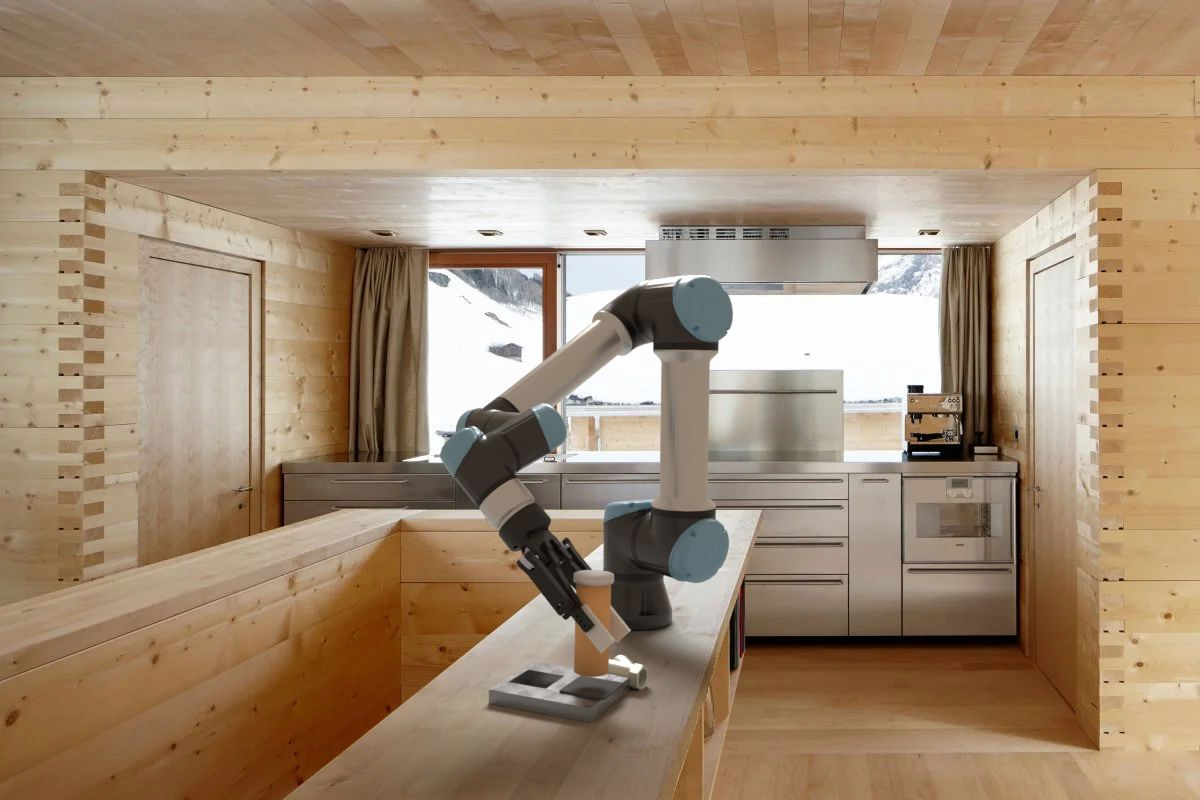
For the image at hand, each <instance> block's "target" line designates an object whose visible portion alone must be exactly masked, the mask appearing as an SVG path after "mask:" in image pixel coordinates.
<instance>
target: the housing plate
mask: <svg viewBox="0 0 1200 800" xmlns="http://www.w3.org/2000/svg"><path fill="white" fill-rule="evenodd" d="M579 676H580V675H578V674H576V673H575V672H574V667H570V666H564V665H559V664H552V663H546V662H540V661H534V662H532V663H530V664H528V665H527V666H525V667H524V668H522V669H520V670H519V671H517V672H515V673H514V674H511V675H510V676H509V677H507V678H506V679H504V680H502V681H501V682H499V683H498V684H496V685H494V686H492V687H490V688H489V689H488V704H491V705H496V706H501V707H506V708H511V709H517V710H521V711H528V712H533V713H539V714H544V715H549V716H554V717H559V718H565V719H568V720H569V719H571V720H575V721H580V722H585V723H593V721H594V720H596V719H597V718H598V717H599V716H601V714H603V713H604V712H605V711H606V710H608V709H609V708H610V707H611V706H613V705H614V704H615V703H616V702H617V701H619V700H620V699H621V698H622V697H624V696H625V695H626V694H627V693H628V692H629V691H630V688H631V687H630V685H629V683H630V677H626V676H620V675H614V674H606V675H603V676H598V677H592V678H598V679H604V680H610V681H616V682H622V683H624V685H623V686H622V687H621V688H619V689H618V690H617V691H616V692H614V693H613V694H612V695H611V696H609V697H608V698H607V699H606V700H600V699H594V698H589V697H583V696H577V695H572V694H566V693H560V692H559V691H560V690H561V689H562V688H563V687H565V686H566V685H568V684H569V683H571V682H572V681H573V680H575V679H576V678H578V677H579ZM586 677H587V676H586ZM528 683H529V684H535V685H539V686H545V687H546V688H543V687H537V686H531V685H528Z"/></svg>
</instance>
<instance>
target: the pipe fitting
mask: <svg viewBox="0 0 1200 800" xmlns="http://www.w3.org/2000/svg"><path fill="white" fill-rule="evenodd" d="M608 674H614V675H620V676H626V677H630V683H629V685H630V688H632V689H633V690H634V689H635V690H639V691H642V690H643V689H645V687H646V686H647V684H648V680H649V668H648V667H647V666H646V665H644V664H641V663H636V662H635V663H634V662H633V661H632V660H631V659H630V658H629V657H628V656H626V655H625V654H618V655H616V656H614V657H613V658H612V659H610V658H609V672H608Z"/></svg>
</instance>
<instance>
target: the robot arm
mask: <svg viewBox="0 0 1200 800" xmlns="http://www.w3.org/2000/svg"><path fill="white" fill-rule="evenodd" d="M733 318H734V310H733V304H732V301H731V298H730V295H729V293H728V291H727V290H726V288H724V287H723V285H722V284H721V282H719V281H718V280H716V279H715V278H713V277H711V276H708V275H704V274H703V275H702V274H700V275H699V274H698V275H697V274H695V275H694V274H688V275H687V274H684V275H680V276H672V277H664V278H652V279H647V280H643V281H641V282H639V283H637V284H635V285H633V286H631V287H630V288H628V289H626V290H625V291H624V292H622V293H621V294H619V295H618V296H616V297H615V298H613V299H612V300H611V301H610V302H608V303H607V304H605V305H604V306H603V307H602V308H601V309H600V310H598V311H597V312H596V313H594V314H593V316H592V322H591V323H590V324H589V325H587V326H586V327H585V328H584V329H582V330H581V331H580V332H578V333H577V334H576V335H575V336H573V338H571V339H570V340H569V341H567V342H566V343H565V344H564V345H562V346H561V347H560V348H558V349H557V350H556V351H554V352H553V353H552V354H551V355H550V356H548V357H547V358H545V360H542V362H540V363H539V364H537V366H535V367H534V368H533V369H531V370H530V371H529V372H527V374H525V375H524V376H523V377H521V378H520V379H519V380H518V381H516V382H515V383H514V384H513V385H511V386H510V387H508V388H507V389H505V391H504V392H502V393H501V394H499V395H498V396H496V397H495V398H494V399H493V400H492V401H490V402H488V404H486V405H485V406H483V407H482V408H481V407H476V408H473V409H469V410H467V411H465V412H463V413H462V414H461V415H460V416H459V418H458V420H457V422H456V426H455V433H454V434H453V435H451V436H450V437H449V438H448V439H447V440H446V441H445V443H444V444H443V446H442V447H441V449H440V453H439V457H440V461H441V462H442V463H443V465H444V467H445V468H446V470H447V471H448V473H449V474H450V475H451V478H452V479H453V480H454V481H455V482H456V483H457V484H458V485H459V487H460V488H461V489H462V490H463V492H465V494H466V495H467V496H468V497H469V498H470V500H471V502H473V503H474V505H475V506H476V508H477V509H478V510H479V511H480V512H481V514H482V515H483V516H484V518H485V519H484V520H485V522H487V523H489V524H490V526H491V527H492V528H493V529H494V530H495V531H498V537H500V539H501V540H502V541H503V543H504V544H505V545H506V547H507V548H508V549H509V551H511V552H513V553H515V552H519V551H521V554H522V556H521V557H520V558H519V559H518V560H517V561H516V565H517V567H518V568H520V569H521V571H523V572H524V573H525V574H526V575H527V577H528V578H529V579H530V580H531V582H532V583H533V584H534V585H535V587H536V588H537V589H538V590H539V592H540V593H541V595H543V597H544V598H545V600H546V601H547V602H548V604H549V605H550V606H551V607H552V609H553V610H554V612H555V613H556V614H557V615H558V616H560V617H561V618H562V619H564V620H565V621H568V619H570V618H572V619H573V621H575V622H576V623H577V624H578V625H579V627H580V628H581V629H582V631H583V632H584V633H585V634H586V636H587V637H588V638H589V639H590V641H591V642H592V643H593V645H594V646H595V647H596V648H597V650H598V651H599V652H600V653H602V652H604V651H605V650H606V649H607V648H608V647H609V648H610V646H612V645H613V643H617V644H618V643H619V642H620V641H621V640H622V639H623V638H625V636H627V635H628V634H629V633H630V632H631V631H645V630H646V631H647V630H655V629H656V630H657V629H659V628H664V627H666V626H668V625H670V624H671V623H672V621H673V607H672V605H671V601H670V597H669V595H668V590H667V587H666V584H665V580H664V579H665V578H664V577H668V578H671V579H674V580H676V581H678V582H683V583H684V582H687V583H691V584H700V583H704V582H707V581H708V580H711V579H712V578H713V577H714V576H716V575H717V574H718V571H719V570H720V569H722V567H723V566H724V563H725V562H726V559H727V556H728V552H729V549H730V548H729V547H730V537H729V534H728V530H727V529H725V525H723V523H721V522H720V521H719V520H717V516H716V515H717V514H716V512H717V505H716V504H715V502H714V501H713V500H712V499H710V497H709V495H708V490H709V489H708V488H709V487H708V486H709V429H710V428H709V427H710V426H709V425H710V366H711V365H710V363H711V361H712V360H713V359H714V358H715V357H716V355H718V354H719V344H720V342H719V341H721V340H722V339H723V338H725V337H726V336H727V334H728V332H729V331H730V329H731V328H732V324H733V321H734V320H733ZM650 343H652V352H653V354H655V356H656V357H657V358H658V359H659V361H660V362H661V367H660V369H661V371H660V374H661V375H660V378H661V379H660V382H661V383H660V386H661V387H660V434H659V435H660V436H659V437H660V443H659V444H660V447H659V448H660V449H659V494H658V496H656V497H655V499H654V498H652V499H651V498H650V499H649V498H648V499H632V500H631V499H629V500H620V501H619V500H618V501H612V502H610V503H608V504H607V505H606V506H605V508H604V514H603V521H602V526H603V533H602V534H603V540H602V541H603V543H602V544H603V550H602V552H603V553H602V554H603V559H602V560H603V562H602V563H603V566H602V567H603V568H602V569H603V570H602V571H608V572H611V573H613V574H614V583H613V584H611V606H610V633H609V632H608V630H607V629H606V628H605V627H604V625H603V624H602V623H601V622H600V620H599V619H598V618H597V616H596V615H595V614H594V613H593V611H592V610H591V609H590V608H589V606H588V605H587V604H585V605H584V606H583V607H581V606H582V603H581V601H580V600H579V598H578V597H577V595H576V583H575V582H574V573H575V572H577V571H582V570H593V569H592V568H591V567H590V565H589V564H588V563H587V562H586V561H585V559H584V558H583V557H582V555H581V554H580V553H579V552H578V550H577V549H576V548H575V545H574V544H573V543H572V541H571V540H570V538H569V537H564V538H563V539H562V540H559V539H558V538H557V536H555V535H554V533H553V532H551V531H550V530H549V527H550V525H551V523H552V519H551V516H550V515H549V514H548V513H547V512H546V510H544V508H543V507H542V506H541V504H540V503H538V502H535V496H533V494H532V493H531V492H530V491H529V489H528V488H527V487H526V486H525V485H524V483H523V482H522V481H521V479H520V478H519V477H518V476H517V475H516V474H517V473H519V472H520V471H521V470H523V469H525V468H527V467H529V466H530V465H532V464H534V463H535V462H537V461H538V460H540V459H541V458H543V457H545V456H548V455H549V454H552V453H553V451H554V450H556V449H557V448H559V447H560V446H561V445H563V444H564V443H565V442H566V439H567V427H566V424H565V421H564V419H563V416H562V415H561V414H560V413H559V412H558V410H557V409H556V408H555V407H556V406H557V405H558V404H560V403H561V402H562V401H564V400H565V399H566V398H567V397H568V396H569V395H570V394H571V393H573V392H574V391H576V390H577V389H578V388H579V387H580V386H582V385H583V384H584V383H585V382H586V381H587V380H589V379H590V378H592V377H593V376H594V375H595V374H596V373H598V372H599V371H600V370H602V368H604V367H605V366H606V365H608V363H611V361H612V360H613V359H614V358H616V357H617V356H622V357H624V356H627V355H628V354H630V353H631V352H632V351H633V350H635V349H637V348H638V347H642V346H644V345H647V344H650Z"/></svg>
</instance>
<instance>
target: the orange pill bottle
mask: <svg viewBox="0 0 1200 800" xmlns="http://www.w3.org/2000/svg"><path fill="white" fill-rule="evenodd" d="M574 582H575V583H576V590H575V593H576V595H577V597H578V598H579V600H580V601H581V603H582V606H581V607H583V606H584V605H585V604H587V605H588V606H589V608H590V609H591V610H592V611H593V613H594V614H595V615H596V616H597V618H598V619H599V620H600V622H601V623H602V624H603V625H604V627H605V628H606V629H607V630H608V632H609V633H610V606H611V584H613V583H614V574H613V573H611V572H608V571H603V570H600V569H592V570H582V571H577V572H575V573H574ZM573 654H574V655H573V668H574V672H575V673H576V674H578V675H581V676H587V677H598V676H603V675H606V674H608V672H609V659H610V646H609V647H608V648H607V649H606V650H605V651H604V652H602V653H600V652H599V651H598V650H597V648H596V647H595V646H594V645H593V643H592V642H591V641H590V639H589V638H588V637H587V636H586V634H585V633H584V632H583V631H582V629H581V628H580V627H579V625H578V624H577V623H576V622H575V623H574V653H573Z"/></svg>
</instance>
